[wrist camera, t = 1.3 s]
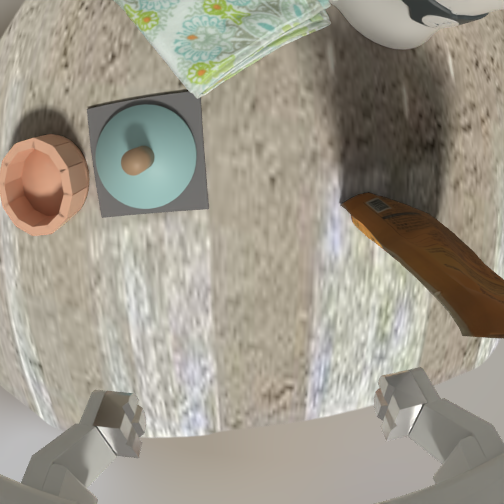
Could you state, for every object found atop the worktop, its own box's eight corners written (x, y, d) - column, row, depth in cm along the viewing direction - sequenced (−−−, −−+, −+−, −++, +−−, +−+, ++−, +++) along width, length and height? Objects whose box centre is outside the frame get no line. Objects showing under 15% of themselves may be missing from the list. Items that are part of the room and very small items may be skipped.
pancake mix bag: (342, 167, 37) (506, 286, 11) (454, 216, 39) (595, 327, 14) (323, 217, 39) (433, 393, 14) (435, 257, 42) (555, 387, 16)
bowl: (14, 144, 33) (-8, 150, 29) (82, 126, 33) (63, 129, 29) (29, 225, 38) (10, 238, 34) (96, 217, 38) (80, 231, 34)
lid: (93, 114, 32) (76, 115, 28) (193, 98, 32) (186, 96, 28) (106, 211, 38) (92, 222, 34) (201, 202, 38) (196, 214, 34)
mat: (88, 109, 32) (87, 109, 32) (200, 90, 32) (199, 90, 32) (103, 216, 38) (101, 217, 38) (208, 207, 38) (208, 209, 38)
